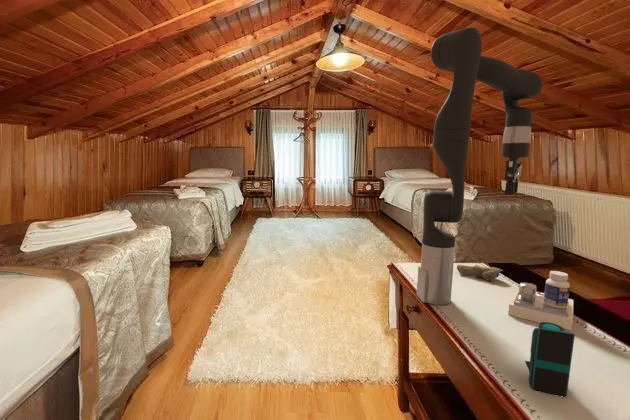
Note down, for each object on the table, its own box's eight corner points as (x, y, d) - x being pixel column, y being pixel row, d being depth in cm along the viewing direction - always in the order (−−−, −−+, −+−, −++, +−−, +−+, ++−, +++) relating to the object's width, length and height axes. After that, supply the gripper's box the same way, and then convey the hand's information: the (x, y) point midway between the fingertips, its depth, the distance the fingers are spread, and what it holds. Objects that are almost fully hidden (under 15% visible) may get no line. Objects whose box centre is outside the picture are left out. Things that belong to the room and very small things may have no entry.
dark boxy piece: (558, 311, 67) (576, 334, 57) (551, 366, 68) (567, 398, 59) (525, 306, 69) (538, 328, 59) (519, 360, 70) (530, 390, 61)
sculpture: (454, 277, 125) (499, 283, 116) (454, 265, 125) (499, 269, 116) (458, 274, 131) (502, 278, 122) (458, 262, 131) (502, 266, 122)
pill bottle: (560, 310, 86) (564, 277, 85) (539, 302, 91) (542, 271, 90) (571, 306, 89) (575, 274, 88) (550, 299, 94) (553, 269, 92)
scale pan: (568, 317, 84) (568, 314, 84) (513, 304, 92) (513, 301, 91) (568, 304, 92) (569, 302, 92) (518, 293, 99) (518, 291, 99)
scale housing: (571, 330, 84) (573, 317, 83) (508, 314, 92) (509, 302, 92) (572, 309, 96) (573, 298, 96) (516, 297, 105) (517, 286, 104)
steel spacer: (525, 301, 92) (527, 287, 91) (515, 296, 96) (516, 282, 95) (538, 301, 92) (540, 287, 92) (527, 295, 96) (528, 282, 96)
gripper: (527, 140, 97) (522, 196, 99) (532, 143, 108) (527, 193, 110) (498, 141, 101) (493, 194, 103) (506, 143, 112) (501, 191, 114)
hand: (511, 193), depth 107 cm, fingers open, 8 cm apart
